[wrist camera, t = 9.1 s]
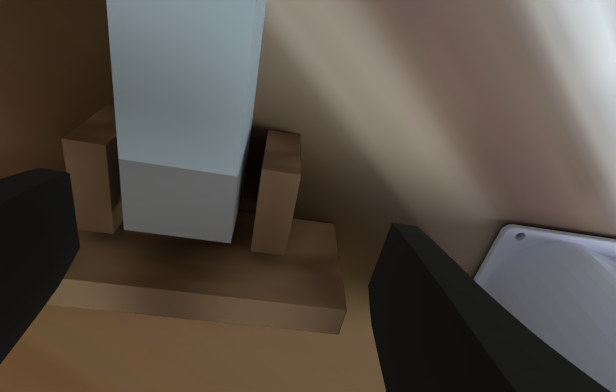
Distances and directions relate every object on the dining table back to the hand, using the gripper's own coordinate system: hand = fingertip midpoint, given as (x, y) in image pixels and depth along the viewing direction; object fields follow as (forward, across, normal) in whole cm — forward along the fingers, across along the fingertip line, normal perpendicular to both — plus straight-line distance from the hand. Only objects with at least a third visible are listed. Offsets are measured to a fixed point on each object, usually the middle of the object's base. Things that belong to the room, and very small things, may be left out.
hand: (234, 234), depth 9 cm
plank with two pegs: (+10, +2, +5) cm, 11 cm away
